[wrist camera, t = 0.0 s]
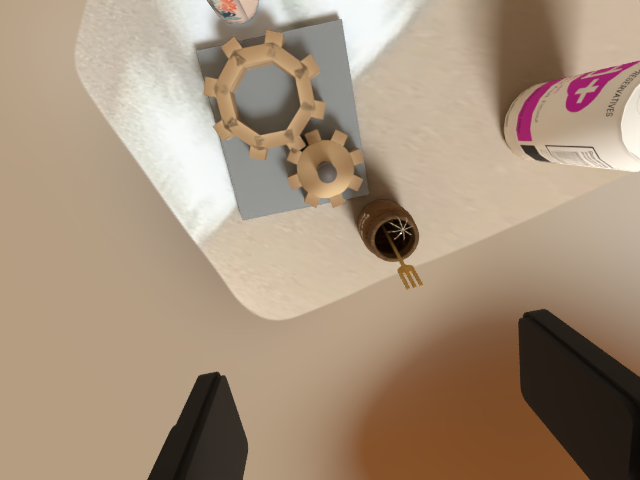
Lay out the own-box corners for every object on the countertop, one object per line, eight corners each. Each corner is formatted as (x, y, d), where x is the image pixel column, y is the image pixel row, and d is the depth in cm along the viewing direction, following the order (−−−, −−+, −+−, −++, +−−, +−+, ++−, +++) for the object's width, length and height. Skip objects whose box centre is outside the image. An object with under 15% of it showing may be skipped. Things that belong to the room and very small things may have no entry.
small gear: (276, 146, 38) (269, 148, 31) (346, 117, 37) (353, 113, 31) (304, 214, 40) (303, 228, 34) (370, 188, 39) (382, 198, 33)
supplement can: (489, 109, 38) (597, 93, 24) (559, 68, 37) (716, 26, 23) (515, 173, 40) (629, 193, 26) (582, 136, 39) (738, 135, 25)
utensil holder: (399, 192, 41) (435, 214, 29) (409, 241, 42) (447, 280, 31) (351, 205, 41) (368, 232, 29) (363, 253, 43) (383, 296, 31)
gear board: (199, 53, 36) (196, 50, 35) (340, 22, 35) (341, 19, 34) (244, 218, 41) (242, 220, 40) (367, 193, 41) (369, 194, 40)
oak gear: (198, 52, 35) (190, 46, 32) (310, 28, 34) (310, 19, 32) (229, 166, 38) (224, 168, 36) (332, 145, 38) (333, 146, 35)
